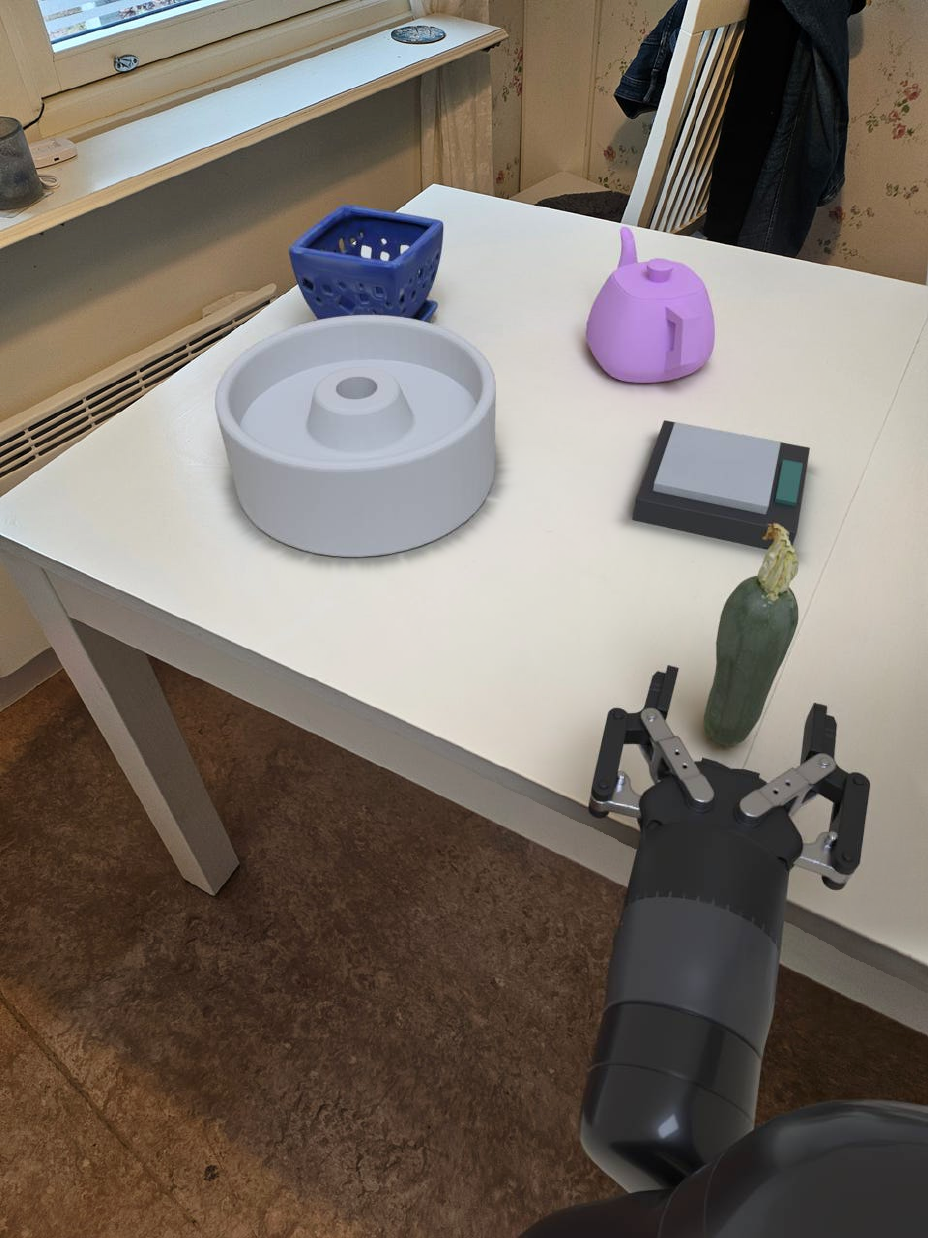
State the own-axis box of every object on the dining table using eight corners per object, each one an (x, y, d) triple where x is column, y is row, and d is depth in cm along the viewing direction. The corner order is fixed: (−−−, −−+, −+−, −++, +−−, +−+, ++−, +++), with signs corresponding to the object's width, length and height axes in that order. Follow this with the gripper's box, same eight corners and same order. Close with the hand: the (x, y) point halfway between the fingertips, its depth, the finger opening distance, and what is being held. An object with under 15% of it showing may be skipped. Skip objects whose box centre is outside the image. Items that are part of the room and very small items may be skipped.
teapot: (662, 306, 107) (677, 214, 98) (737, 393, 93) (762, 295, 85) (559, 321, 104) (565, 228, 96) (621, 412, 91) (635, 313, 83)
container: (247, 407, 93) (228, 320, 85) (480, 393, 94) (480, 306, 87) (224, 568, 76) (197, 476, 68) (509, 549, 77) (512, 456, 70)
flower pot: (351, 297, 109) (340, 199, 100) (449, 316, 106) (446, 216, 97) (300, 349, 101) (283, 247, 92) (404, 371, 97) (397, 266, 89)
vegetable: (751, 772, 61) (837, 565, 46) (689, 771, 61) (756, 565, 46) (738, 720, 64) (816, 511, 49) (679, 720, 64) (739, 511, 49)
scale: (803, 468, 84) (813, 438, 82) (789, 554, 76) (800, 523, 74) (660, 440, 88) (665, 410, 85) (632, 519, 80) (637, 489, 77)
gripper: (879, 964, 37) (889, 684, 48) (558, 862, 41) (632, 621, 51) (827, 1023, 43) (846, 761, 53) (548, 929, 46) (617, 699, 56)
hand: (741, 692), depth 52 cm, fingers open, 8 cm apart
